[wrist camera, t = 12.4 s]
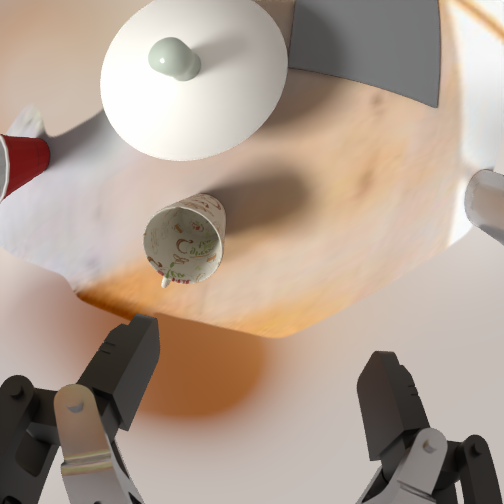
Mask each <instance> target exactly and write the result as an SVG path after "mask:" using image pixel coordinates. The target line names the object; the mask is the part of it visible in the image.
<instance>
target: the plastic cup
mask: <svg viewBox="0 0 504 504" xmlns="http://www.w3.org/2000/svg"><path fill="white" fill-rule="evenodd" d="M49 160H50V151H49V147H48V145H47V143H46V142H45V141H44V140H43V139H40V138H29V137H13V136H6V135H3V134H0V203H1V201H2V200H3V199H5V198H6V197H7V196H8V195H10V194H11V193H12V192H13V191H15V190H16V189H18V188H19V187H21V186H23V185H24V184H26V183H27V182H29V181H31V180H32V179H33V178H34V177H36V176H38V175H39V174H41V173H42V172H43V171H44V170H45V169H46V168H47V166H48V164H49Z"/></svg>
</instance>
